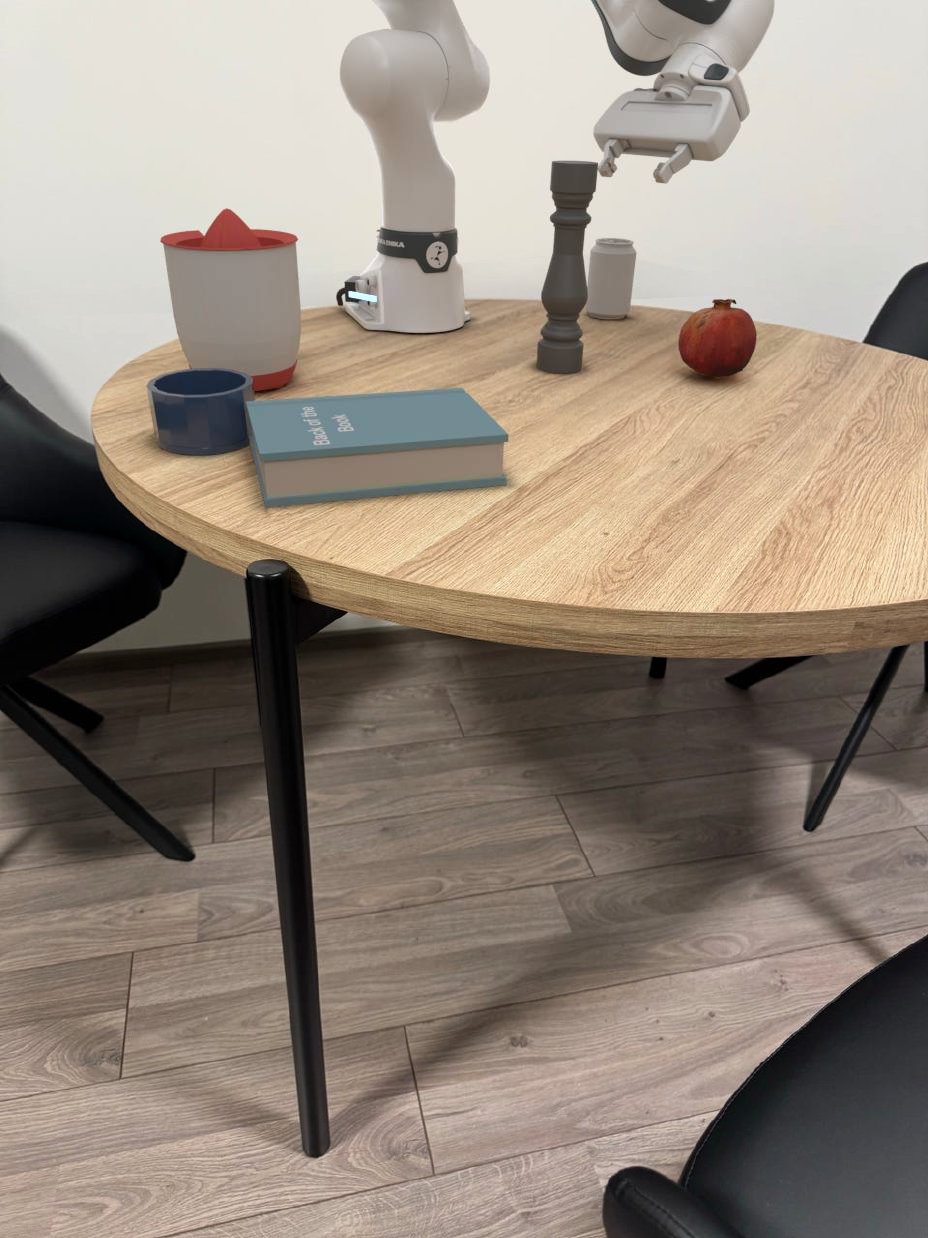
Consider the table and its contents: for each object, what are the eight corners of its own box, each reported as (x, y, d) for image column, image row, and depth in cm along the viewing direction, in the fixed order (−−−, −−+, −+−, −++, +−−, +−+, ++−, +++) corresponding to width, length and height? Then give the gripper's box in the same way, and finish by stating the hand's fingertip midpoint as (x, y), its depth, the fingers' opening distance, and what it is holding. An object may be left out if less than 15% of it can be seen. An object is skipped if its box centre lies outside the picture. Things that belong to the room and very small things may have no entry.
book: (265, 507, 78) (259, 453, 75) (250, 445, 91) (245, 398, 88) (505, 484, 84) (508, 434, 81) (459, 430, 97) (460, 385, 94)
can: (628, 321, 145) (637, 243, 139) (582, 318, 146) (589, 241, 140) (629, 312, 151) (638, 237, 145) (586, 309, 153) (593, 235, 146)
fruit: (718, 392, 111) (732, 310, 106) (657, 374, 118) (668, 296, 113) (767, 378, 117) (782, 300, 112) (706, 362, 124) (718, 288, 119)
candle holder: (528, 363, 121) (541, 160, 108) (569, 359, 123) (585, 160, 110) (548, 375, 116) (563, 164, 103) (589, 371, 118) (609, 163, 105)
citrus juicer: (293, 358, 121) (280, 198, 110) (319, 394, 107) (308, 215, 96) (175, 366, 116) (150, 200, 106) (187, 405, 102) (159, 217, 92)
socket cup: (145, 430, 94) (136, 375, 91) (239, 416, 99) (233, 363, 96) (171, 461, 87) (162, 402, 84) (272, 445, 91) (266, 388, 88)
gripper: (619, 69, 119) (562, 152, 118) (747, 69, 106) (684, 163, 105) (636, 107, 124) (582, 187, 123) (761, 112, 110) (701, 202, 110)
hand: (630, 176), depth 114 cm, fingers open, 8 cm apart
